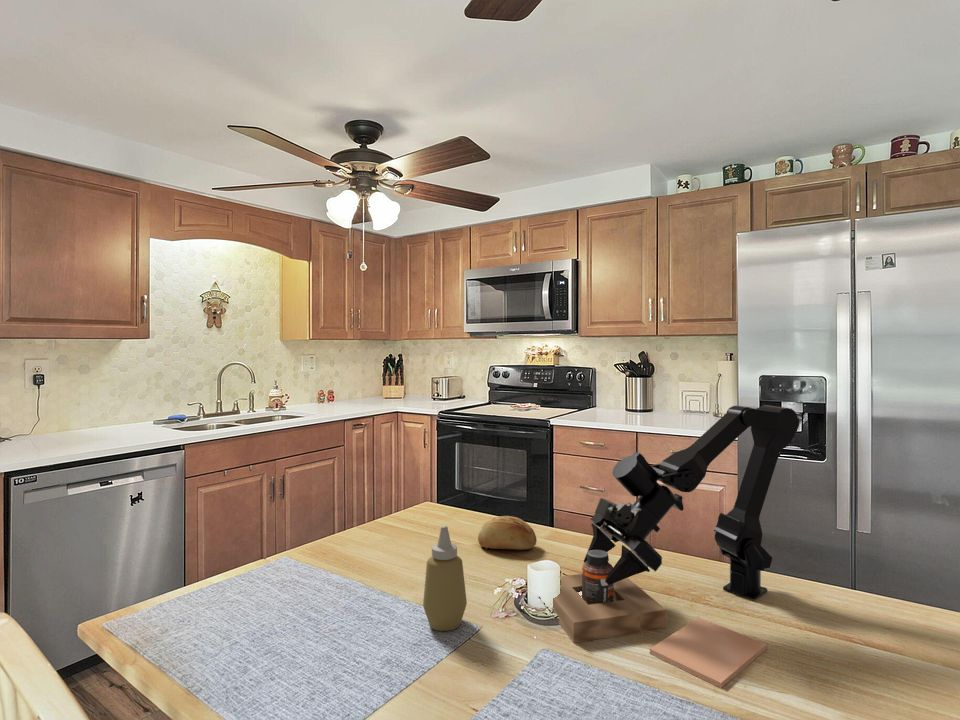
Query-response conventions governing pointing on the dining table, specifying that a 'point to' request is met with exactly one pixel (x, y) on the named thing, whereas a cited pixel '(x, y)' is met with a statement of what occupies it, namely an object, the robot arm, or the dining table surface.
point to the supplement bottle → (596, 578)
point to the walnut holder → (607, 611)
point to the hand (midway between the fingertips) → (595, 572)
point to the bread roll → (507, 534)
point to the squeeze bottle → (444, 585)
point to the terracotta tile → (709, 651)
